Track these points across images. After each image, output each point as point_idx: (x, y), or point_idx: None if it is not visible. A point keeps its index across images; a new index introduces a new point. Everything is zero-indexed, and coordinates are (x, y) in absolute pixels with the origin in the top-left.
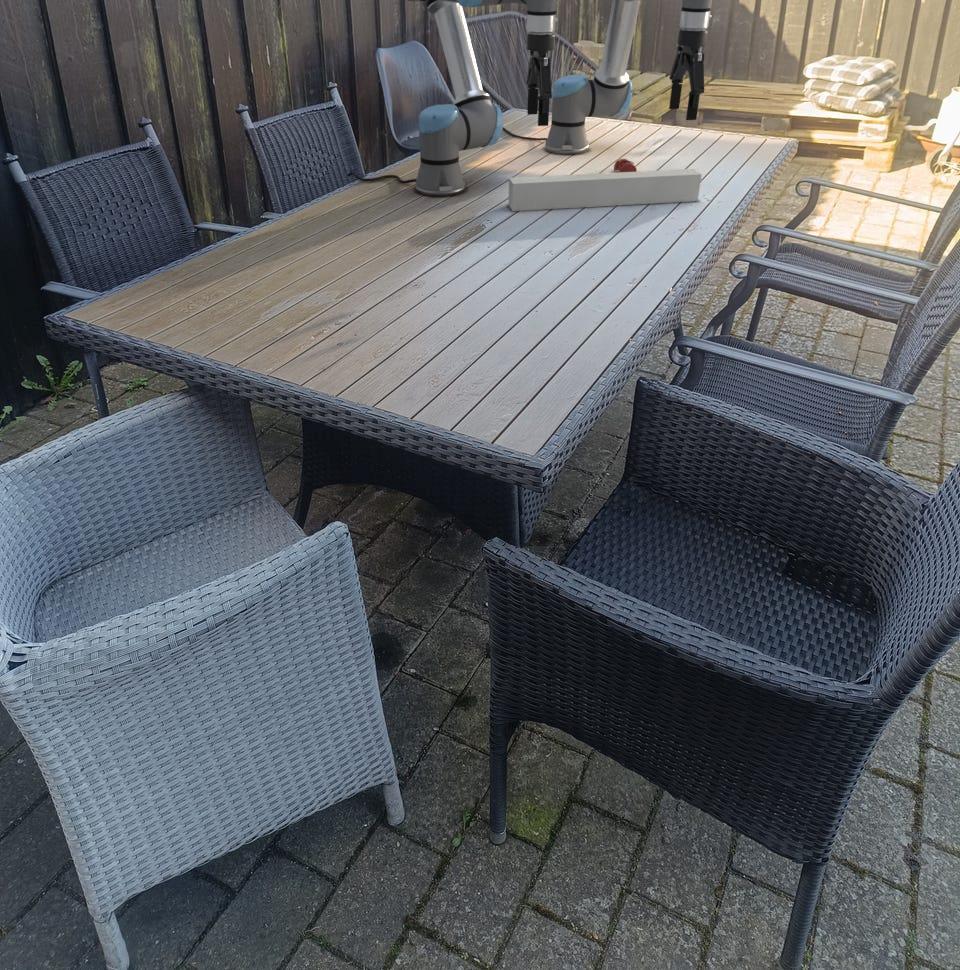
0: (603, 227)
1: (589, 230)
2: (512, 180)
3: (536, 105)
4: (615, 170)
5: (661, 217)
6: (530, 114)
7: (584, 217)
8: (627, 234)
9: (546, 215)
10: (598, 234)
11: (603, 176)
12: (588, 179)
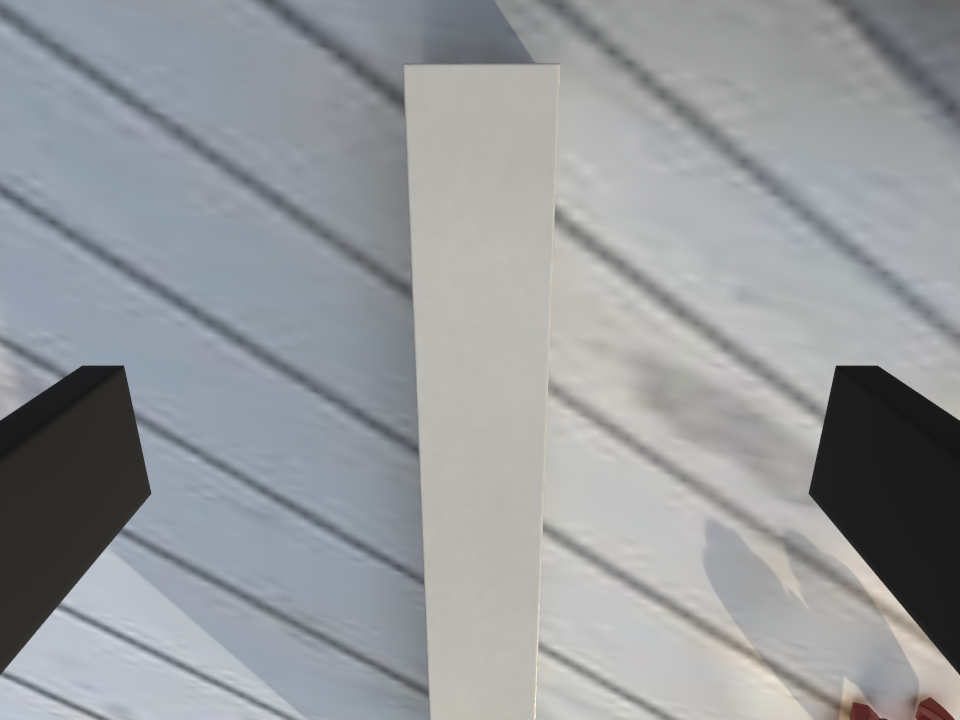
0: None
1: None
2: (484, 77)
3: (877, 555)
4: (922, 703)
5: (269, 695)
6: (830, 402)
7: (286, 424)
8: None
9: (330, 253)
10: None
11: (475, 629)
12: (430, 550)
